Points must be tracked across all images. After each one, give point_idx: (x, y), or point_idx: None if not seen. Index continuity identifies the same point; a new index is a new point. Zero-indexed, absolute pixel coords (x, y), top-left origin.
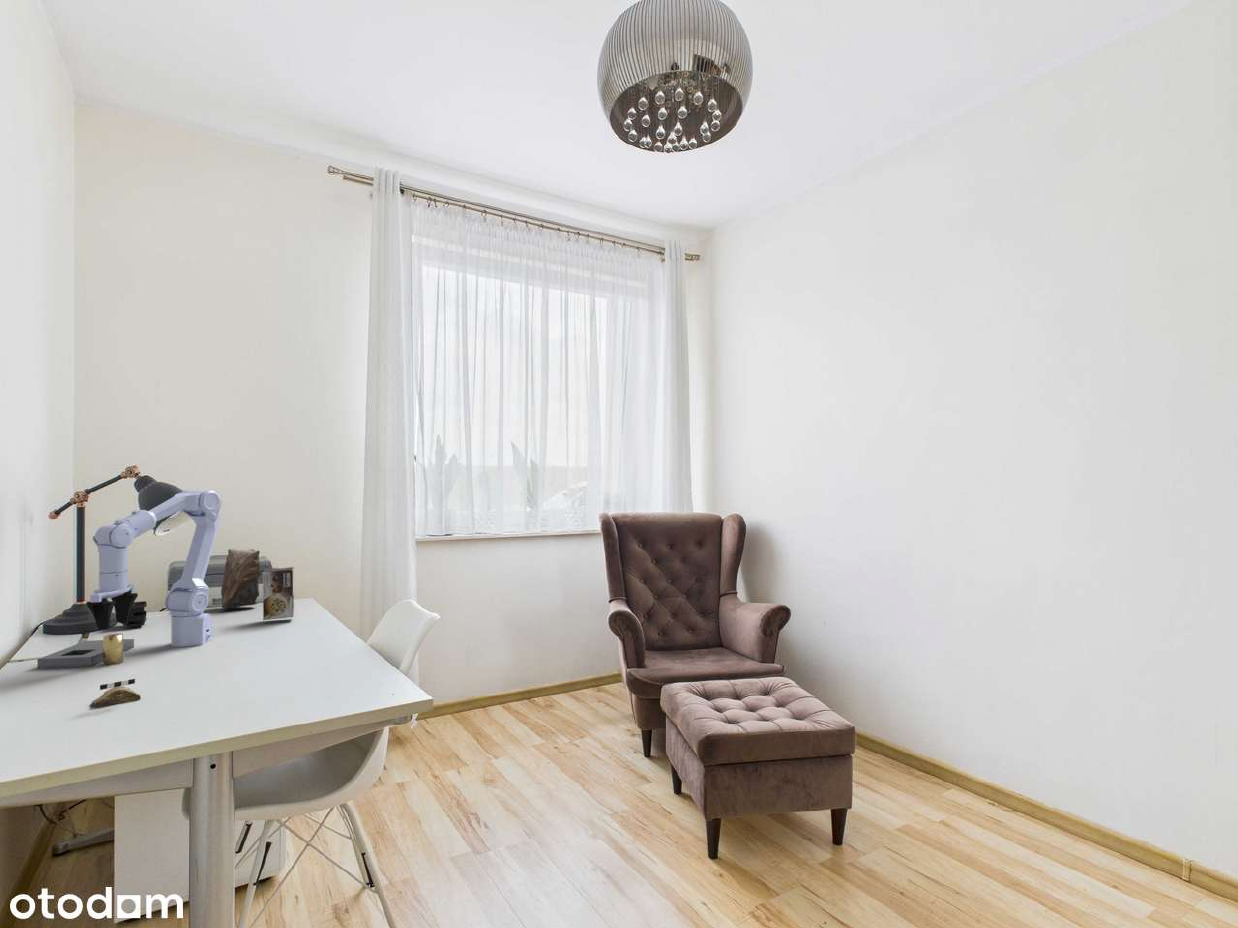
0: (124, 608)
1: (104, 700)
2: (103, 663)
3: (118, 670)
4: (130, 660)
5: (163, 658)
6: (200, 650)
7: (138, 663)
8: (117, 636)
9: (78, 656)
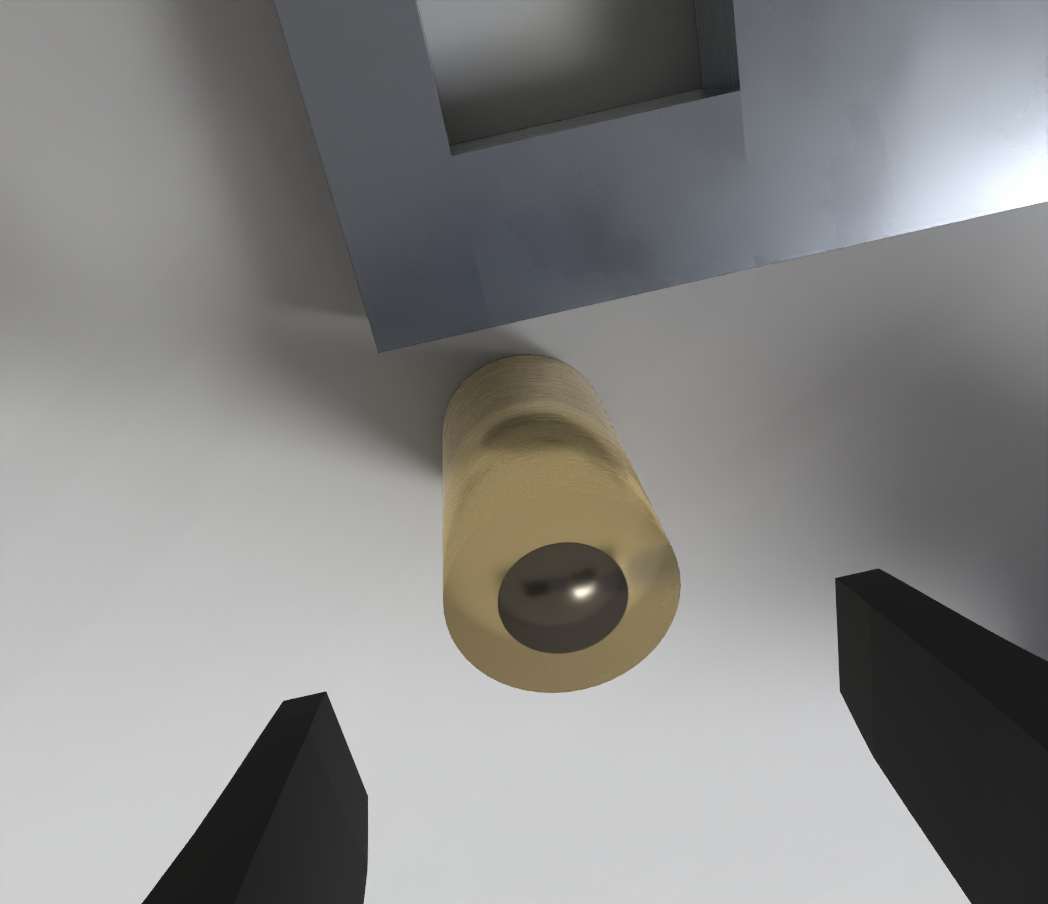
0: (1013, 889)
1: None
2: (453, 400)
3: (309, 659)
4: None
5: (676, 724)
6: (899, 809)
7: None
8: (513, 686)
9: (380, 157)
